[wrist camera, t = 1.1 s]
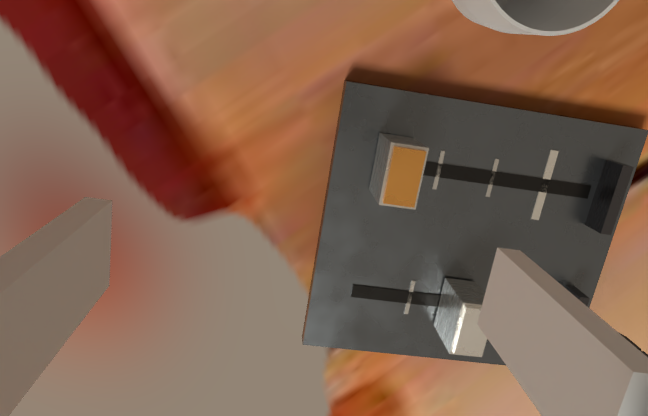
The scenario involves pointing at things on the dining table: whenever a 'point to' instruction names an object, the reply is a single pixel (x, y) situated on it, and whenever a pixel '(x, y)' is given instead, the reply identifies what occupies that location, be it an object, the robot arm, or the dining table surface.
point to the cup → (535, 14)
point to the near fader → (398, 171)
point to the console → (458, 213)
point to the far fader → (460, 317)
